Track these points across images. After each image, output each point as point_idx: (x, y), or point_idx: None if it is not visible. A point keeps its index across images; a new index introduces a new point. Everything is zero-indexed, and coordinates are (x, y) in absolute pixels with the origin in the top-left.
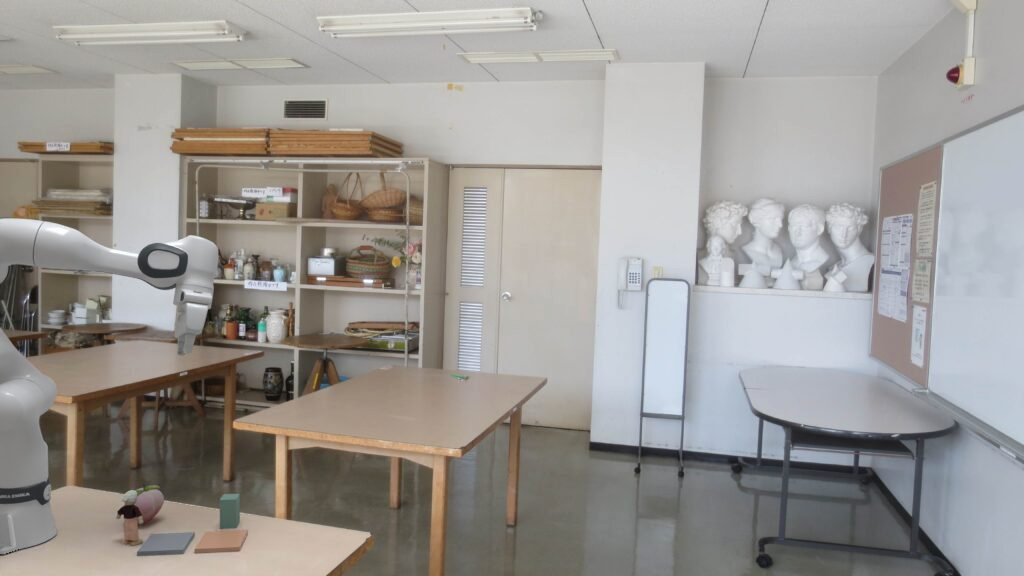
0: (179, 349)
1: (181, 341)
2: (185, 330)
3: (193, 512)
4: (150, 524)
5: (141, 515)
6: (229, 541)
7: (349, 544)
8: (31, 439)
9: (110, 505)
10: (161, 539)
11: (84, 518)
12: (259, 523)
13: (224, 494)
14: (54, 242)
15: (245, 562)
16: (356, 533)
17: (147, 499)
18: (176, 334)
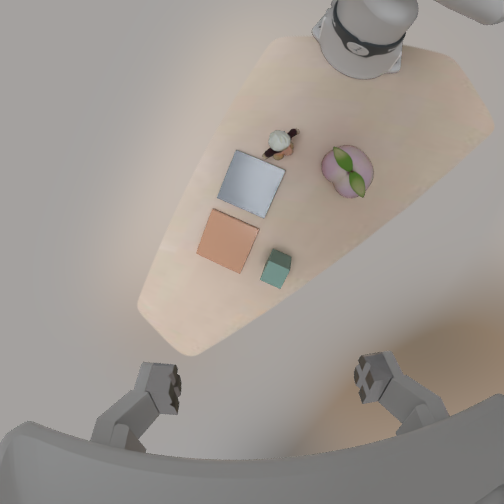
0: (369, 377)
1: (410, 415)
2: (26, 424)
3: (347, 232)
4: None
5: (265, 156)
6: (215, 247)
7: (172, 339)
8: None
9: (425, 147)
10: (259, 179)
11: (394, 111)
12: (265, 291)
13: (288, 271)
14: None
15: (169, 250)
16: (193, 354)
17: (327, 172)
18: (441, 429)
